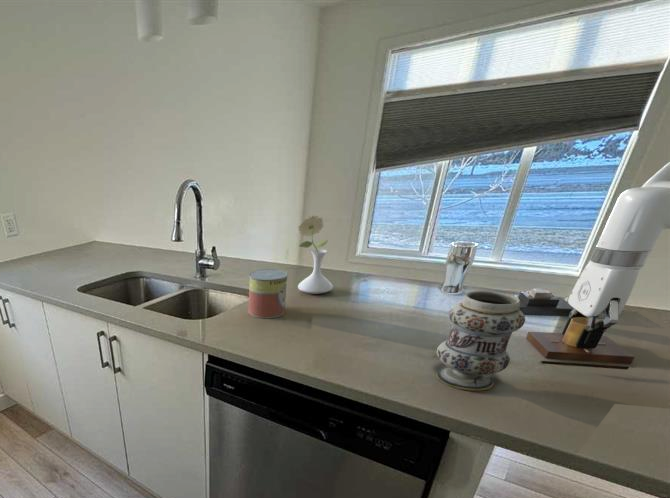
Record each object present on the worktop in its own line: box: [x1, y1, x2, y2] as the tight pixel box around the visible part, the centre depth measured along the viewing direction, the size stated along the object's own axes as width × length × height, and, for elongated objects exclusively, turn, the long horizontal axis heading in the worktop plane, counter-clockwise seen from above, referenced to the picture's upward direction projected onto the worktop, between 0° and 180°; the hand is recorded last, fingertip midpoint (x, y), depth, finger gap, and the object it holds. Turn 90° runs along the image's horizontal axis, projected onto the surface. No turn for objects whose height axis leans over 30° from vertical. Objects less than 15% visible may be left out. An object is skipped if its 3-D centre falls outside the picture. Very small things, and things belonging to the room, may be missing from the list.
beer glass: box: [439, 241, 479, 296], centre depth 126 cm, size 7×7×15 cm
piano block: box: [514, 291, 572, 318], centre depth 112 cm, size 14×10×4 cm
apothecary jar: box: [435, 290, 526, 392], centre depth 81 cm, size 12×12×18 cm
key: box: [528, 288, 553, 298], centre depth 111 cm, size 4×4×2 cm
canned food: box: [247, 268, 289, 319], centre depth 125 cm, size 11×11×12 cm
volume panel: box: [525, 331, 636, 370], centre depth 89 cm, size 14×11×3 cm
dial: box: [562, 317, 601, 348], centre depth 87 cm, size 5×5×5 cm
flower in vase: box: [297, 215, 334, 295], centre depth 135 cm, size 13×11×25 cm
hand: (578, 340), depth 88 cm, fingers open, 5 cm apart
